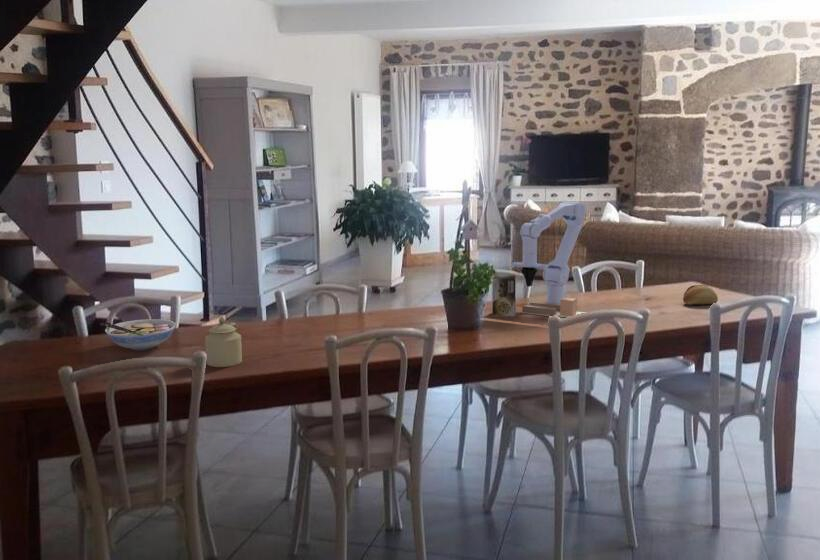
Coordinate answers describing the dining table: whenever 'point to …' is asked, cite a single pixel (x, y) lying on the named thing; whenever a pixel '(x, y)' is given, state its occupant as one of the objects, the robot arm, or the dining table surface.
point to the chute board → (544, 309)
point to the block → (568, 306)
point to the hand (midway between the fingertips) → (529, 286)
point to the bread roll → (699, 295)
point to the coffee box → (503, 295)
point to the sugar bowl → (223, 345)
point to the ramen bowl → (140, 333)
